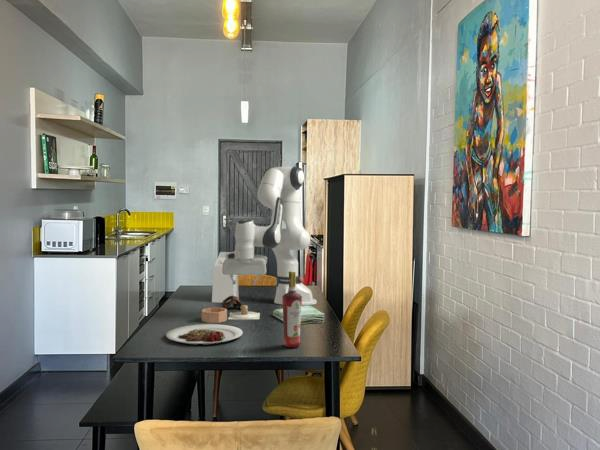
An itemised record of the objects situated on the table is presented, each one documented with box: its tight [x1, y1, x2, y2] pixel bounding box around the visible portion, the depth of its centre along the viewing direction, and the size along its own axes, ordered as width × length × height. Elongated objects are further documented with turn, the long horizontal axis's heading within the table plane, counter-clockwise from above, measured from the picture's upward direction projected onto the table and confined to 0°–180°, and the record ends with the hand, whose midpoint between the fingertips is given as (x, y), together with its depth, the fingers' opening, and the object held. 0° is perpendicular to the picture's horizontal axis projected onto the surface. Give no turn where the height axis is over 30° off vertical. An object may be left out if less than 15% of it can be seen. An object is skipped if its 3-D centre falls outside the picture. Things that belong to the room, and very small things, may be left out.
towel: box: [272, 305, 326, 325], centre depth 257 cm, size 18×21×5 cm
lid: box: [229, 304, 259, 320], centre depth 260 cm, size 13×13×5 cm
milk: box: [211, 251, 240, 303], centre depth 301 cm, size 12×12×26 cm
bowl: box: [201, 307, 228, 324], centre depth 252 cm, size 11×11×5 cm
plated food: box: [165, 323, 244, 345], centre depth 224 cm, size 30×30×3 cm
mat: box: [227, 312, 261, 320], centre depth 261 cm, size 14×14×1 cm
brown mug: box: [220, 296, 243, 310], centre depth 277 cm, size 12×10×8 cm
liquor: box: [282, 271, 303, 349], centre depth 210 cm, size 7×7×28 cm
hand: (244, 284), depth 260 cm, fingers open, 8 cm apart
